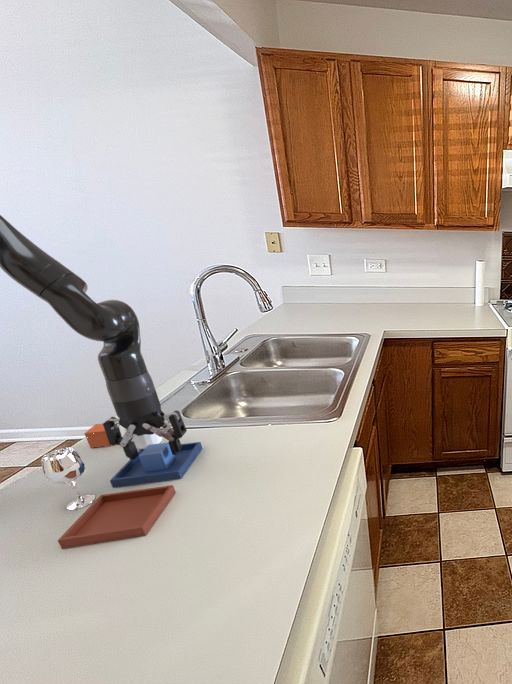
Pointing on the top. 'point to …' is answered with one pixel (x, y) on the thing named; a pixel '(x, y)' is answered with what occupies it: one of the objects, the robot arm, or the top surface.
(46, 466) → the wineglass
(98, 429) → the rust block
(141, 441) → the white faceted cylinder
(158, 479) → the blue tray
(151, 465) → the blue block
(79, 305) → the robot arm
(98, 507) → the terracotta tray
